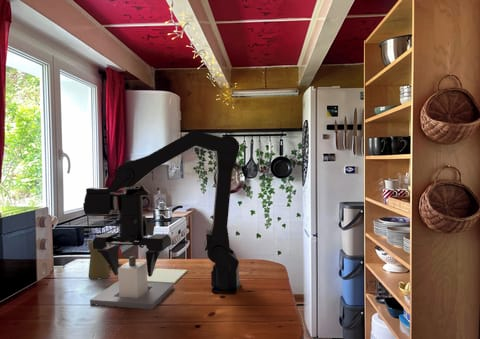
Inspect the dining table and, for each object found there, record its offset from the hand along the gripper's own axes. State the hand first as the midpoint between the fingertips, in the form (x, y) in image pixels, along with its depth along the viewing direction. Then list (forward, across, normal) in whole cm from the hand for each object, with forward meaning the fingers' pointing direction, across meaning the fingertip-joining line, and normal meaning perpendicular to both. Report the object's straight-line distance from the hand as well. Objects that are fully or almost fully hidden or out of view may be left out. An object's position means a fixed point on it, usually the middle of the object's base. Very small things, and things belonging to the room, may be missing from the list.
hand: (133, 275), depth 83 cm
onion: (+6, +20, -22) cm, 30 cm away
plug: (+5, 0, 0) cm, 5 cm away
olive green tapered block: (+6, +18, -12) cm, 22 cm away
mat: (+5, -2, -14) cm, 15 cm away
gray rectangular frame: (+5, 0, 0) cm, 5 cm away
